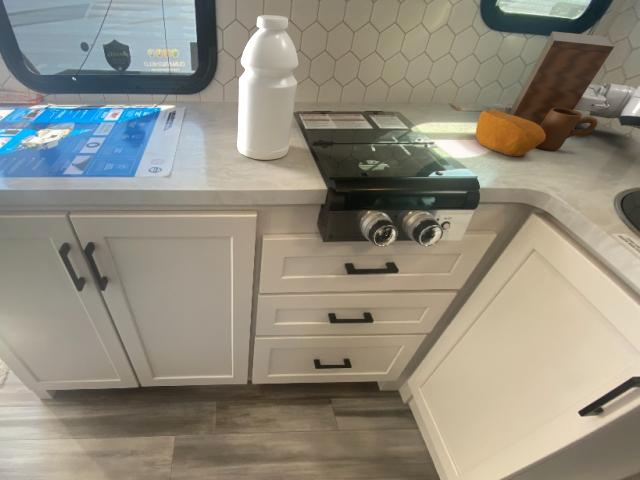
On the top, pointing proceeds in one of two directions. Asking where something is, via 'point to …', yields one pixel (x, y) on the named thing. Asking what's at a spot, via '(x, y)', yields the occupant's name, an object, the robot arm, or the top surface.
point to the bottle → (267, 91)
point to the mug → (563, 127)
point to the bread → (508, 133)
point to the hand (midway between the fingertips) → (554, 93)
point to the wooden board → (561, 74)
